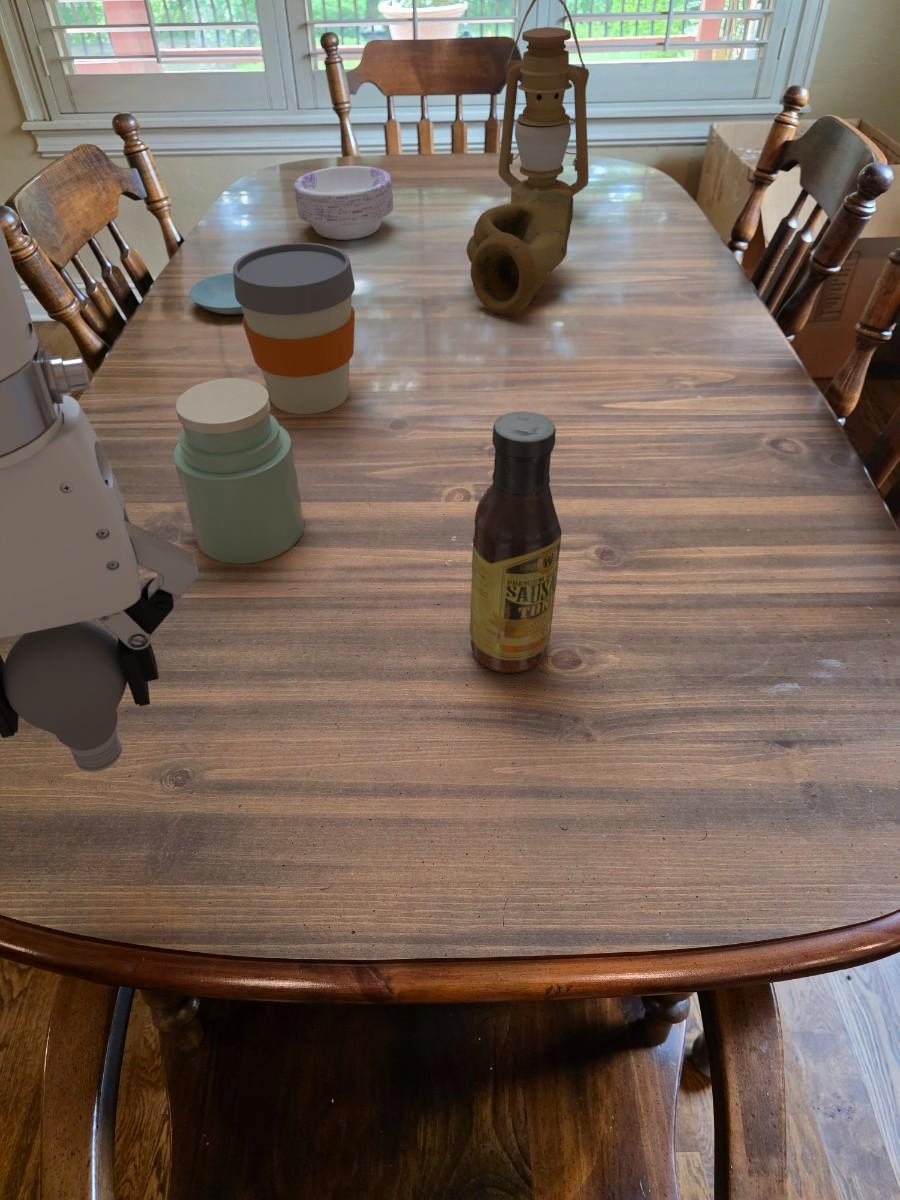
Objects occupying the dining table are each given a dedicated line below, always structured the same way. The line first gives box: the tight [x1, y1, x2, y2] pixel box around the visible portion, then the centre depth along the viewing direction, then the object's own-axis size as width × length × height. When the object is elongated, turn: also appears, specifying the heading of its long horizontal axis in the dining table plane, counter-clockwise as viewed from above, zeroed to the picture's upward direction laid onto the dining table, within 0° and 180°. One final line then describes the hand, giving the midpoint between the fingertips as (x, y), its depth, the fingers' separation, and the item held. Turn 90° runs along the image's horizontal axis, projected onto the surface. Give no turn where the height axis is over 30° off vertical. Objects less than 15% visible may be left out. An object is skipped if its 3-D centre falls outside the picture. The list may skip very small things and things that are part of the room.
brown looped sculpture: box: [466, 188, 574, 317], centre depth 119 cm, size 18×13×22 cm
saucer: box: [188, 272, 244, 316], centre depth 118 cm, size 12×12×2 cm
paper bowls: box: [293, 165, 394, 241], centre depth 137 cm, size 15×15×8 cm
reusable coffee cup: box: [232, 242, 356, 415], centre depth 95 cm, size 13×13×15 cm
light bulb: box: [2, 620, 128, 773], centre depth 47 cm, size 6×6×10 cm
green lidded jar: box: [173, 377, 305, 565], centre depth 76 cm, size 10×10×14 cm
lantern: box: [498, 0, 590, 204], centre depth 135 cm, size 15×10×30 cm
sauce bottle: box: [469, 411, 563, 674], centre depth 62 cm, size 6×6×20 cm
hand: (77, 700), depth 47 cm, fingers closed on light bulb, 6 cm apart
